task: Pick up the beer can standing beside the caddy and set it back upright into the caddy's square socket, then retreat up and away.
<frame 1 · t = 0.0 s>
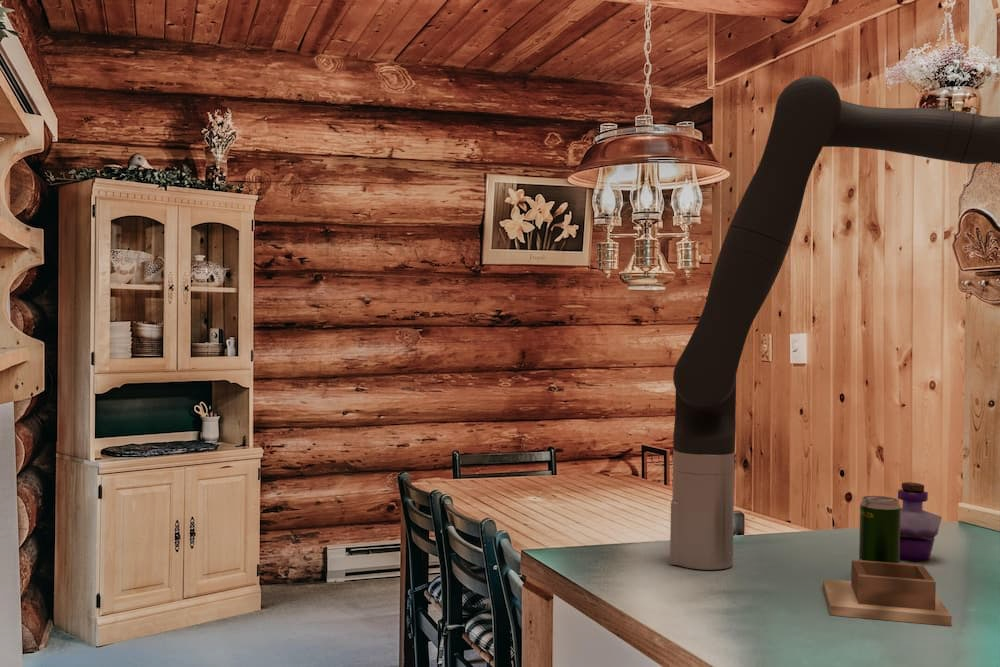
can caddy: (891, 606, 122), on the table
potion bottle: (911, 559, 148), on the table
beer can: (878, 583, 133), on the table
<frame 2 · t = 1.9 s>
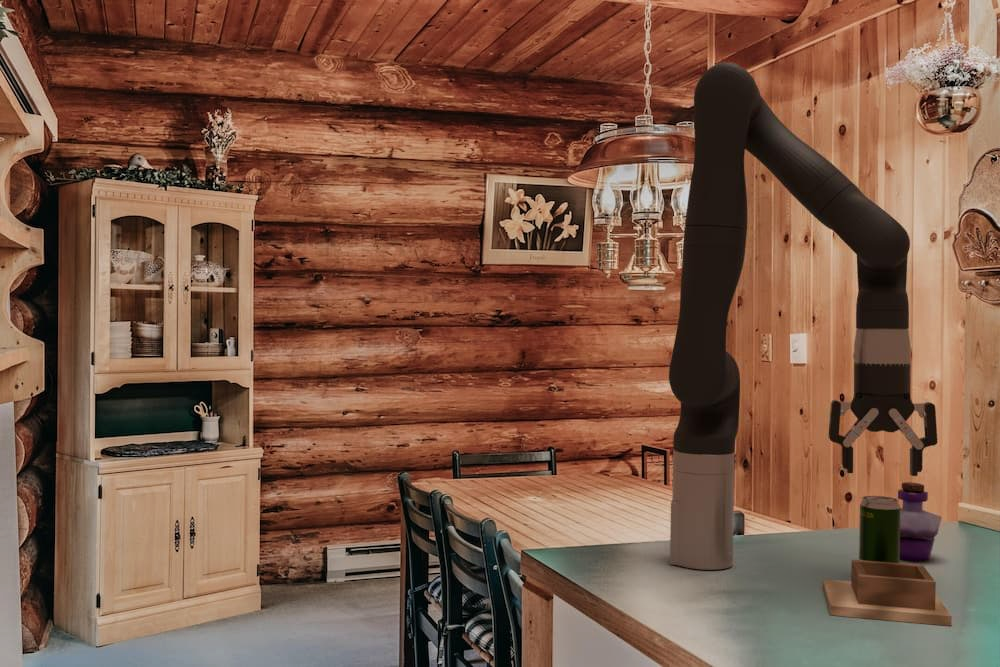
hand: (881, 474, 133), 16 cm above the table, fingers open, 8 cm apart
nothing on the table moved.
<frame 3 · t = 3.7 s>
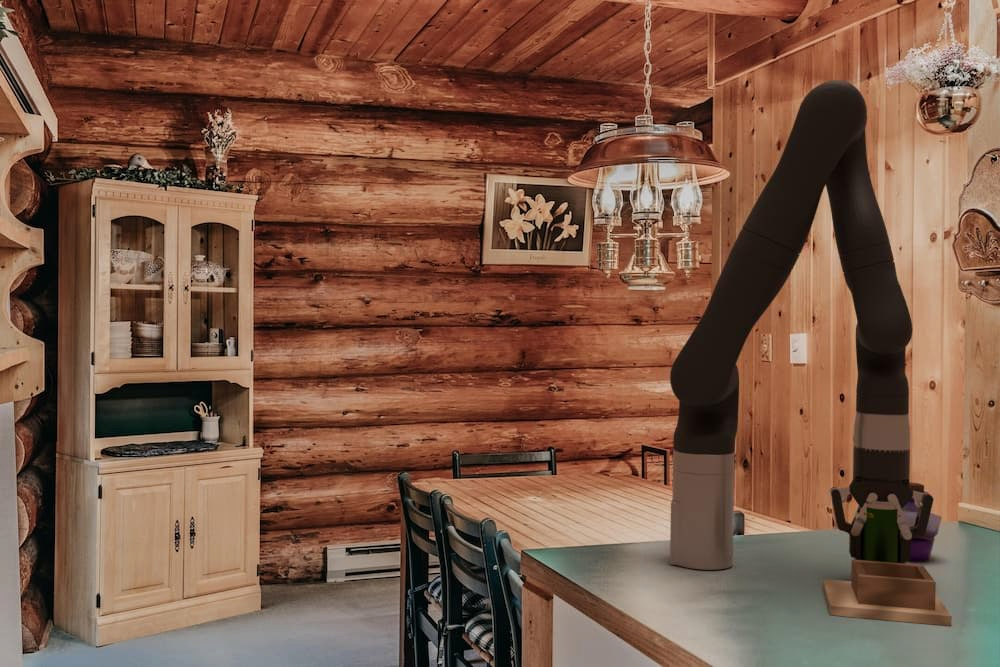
hand: (879, 562, 133), 3 cm above the table, fingers closed on beer can, 5 cm apart
beer can: (878, 583, 133), on the table, touching gripper
everything else where it was.
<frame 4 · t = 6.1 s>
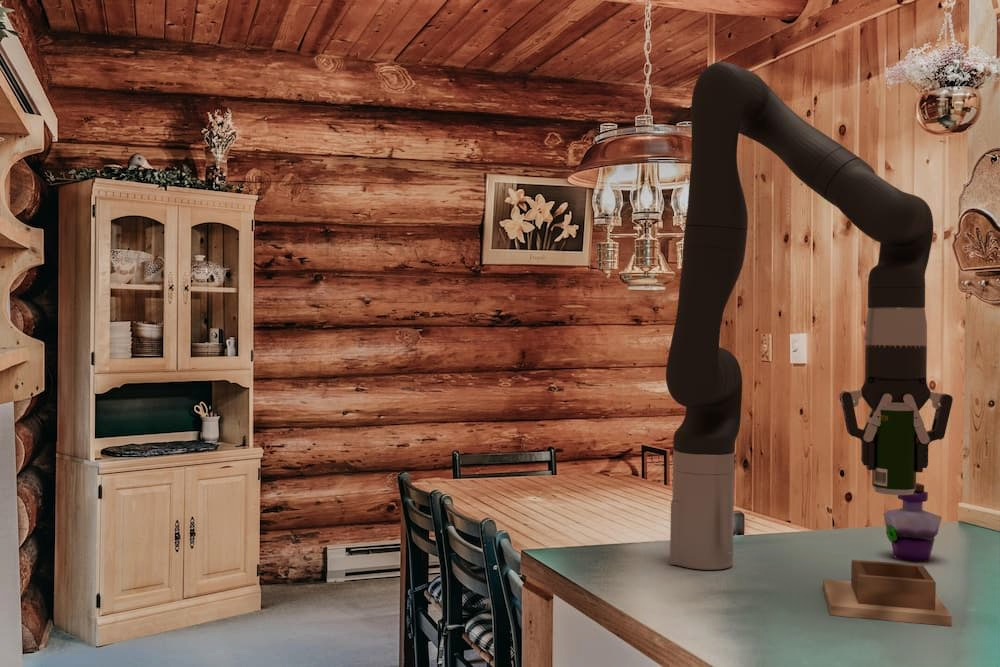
hand: (894, 470, 123), 18 cm above the table, fingers closed on beer can, 5 cm apart
beer can: (893, 493, 123), point 15 cm above the table, touching gripper
everything else where it was.
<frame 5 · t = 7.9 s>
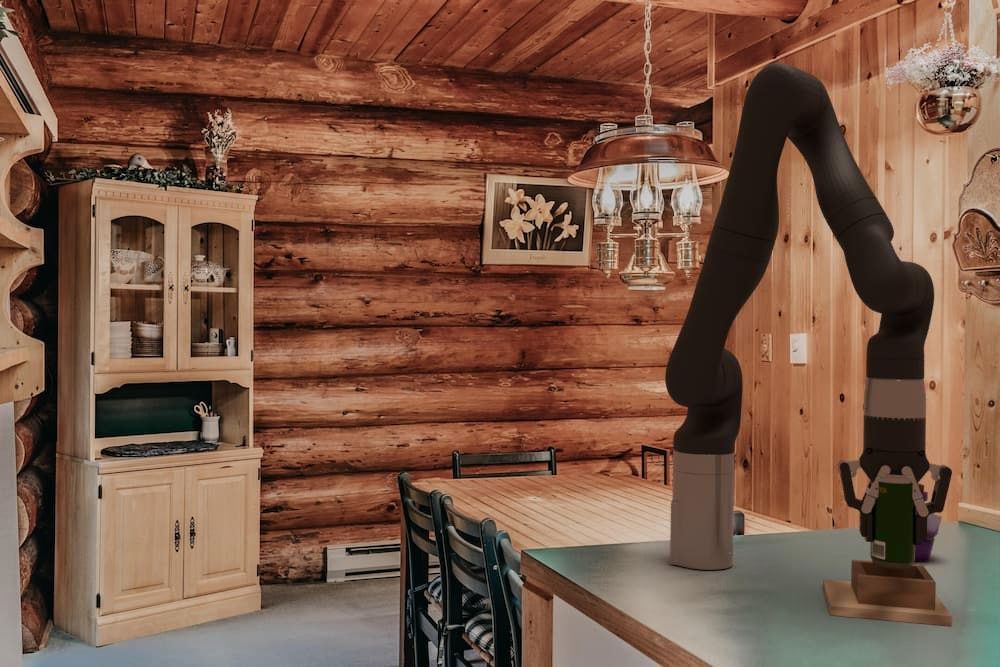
hand: (892, 541, 122), 8 cm above the table, fingers closed on beer can, 5 cm apart
beer can: (892, 565, 122), point 5 cm above the table, touching gripper
everything else where it was.
when the fingers open (6 cm above the table, at t = 9.0 s): beer can drops 1 cm, resting on can caddy.
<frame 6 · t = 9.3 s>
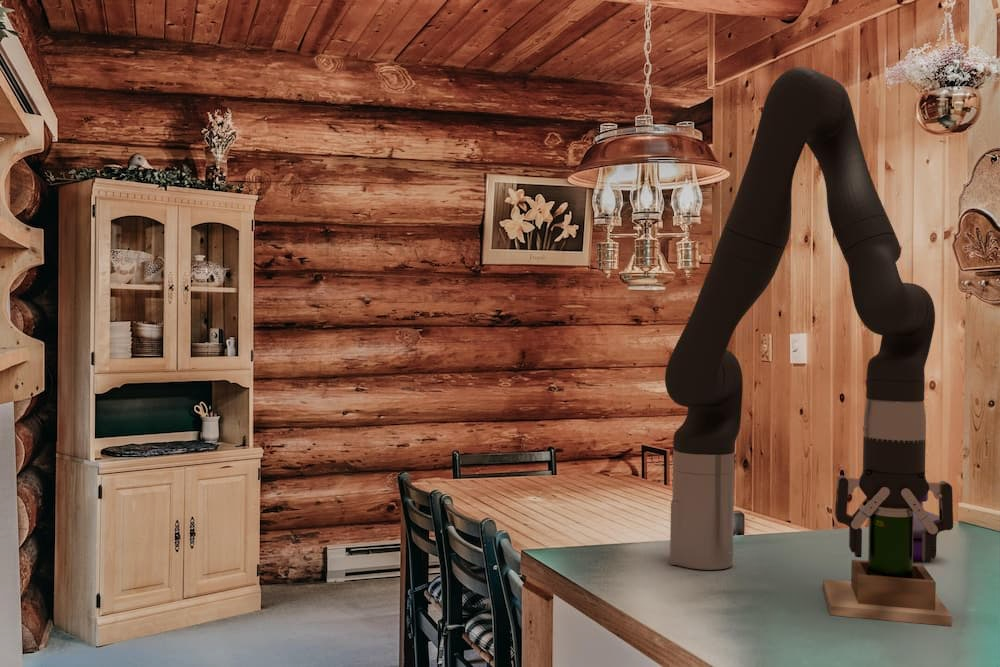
hand: (891, 558, 122), 6 cm above the table, fingers open, 8 cm apart
beer can: (889, 598, 122), point 1 cm above the table, touching can caddy
everything else where it was.
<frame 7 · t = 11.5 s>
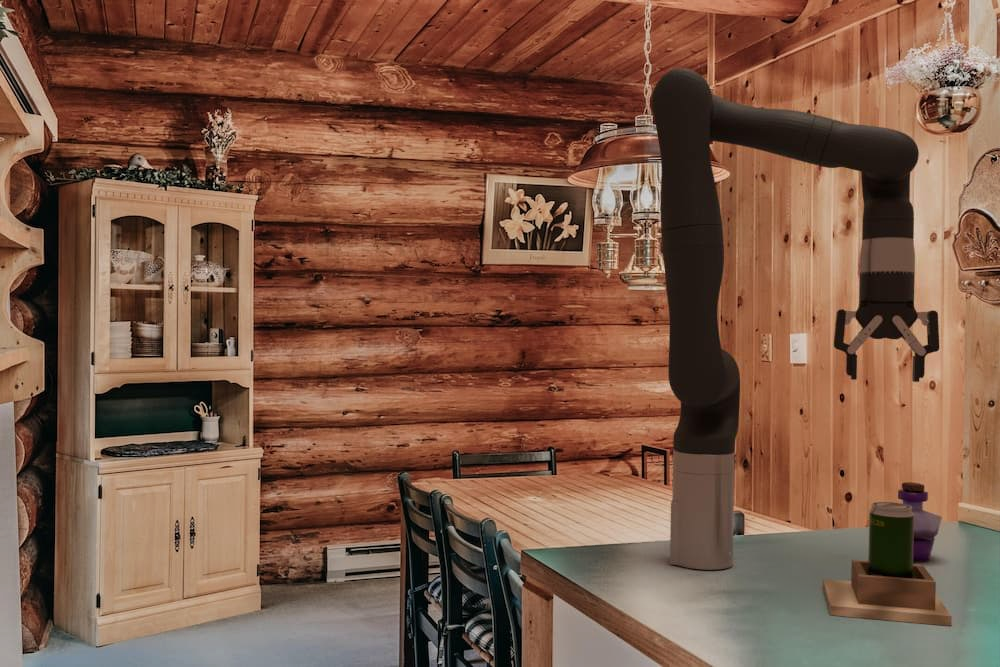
hand: (884, 380, 137), 29 cm above the table, fingers open, 8 cm apart
nothing on the table moved.
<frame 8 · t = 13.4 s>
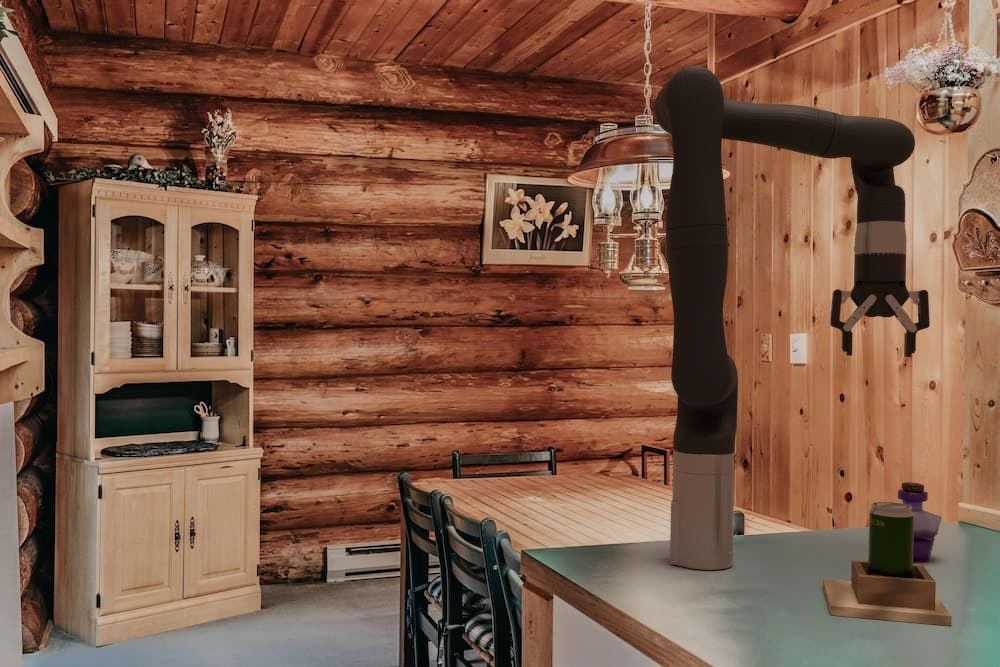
hand: (878, 356, 145), 32 cm above the table, fingers open, 8 cm apart
nothing on the table moved.
at the end: beer can 0.1 cm off-centre on the can caddy, point 1.0 cm above the can caddy's base; beer can tilted 0°; the gripper is holding nothing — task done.
